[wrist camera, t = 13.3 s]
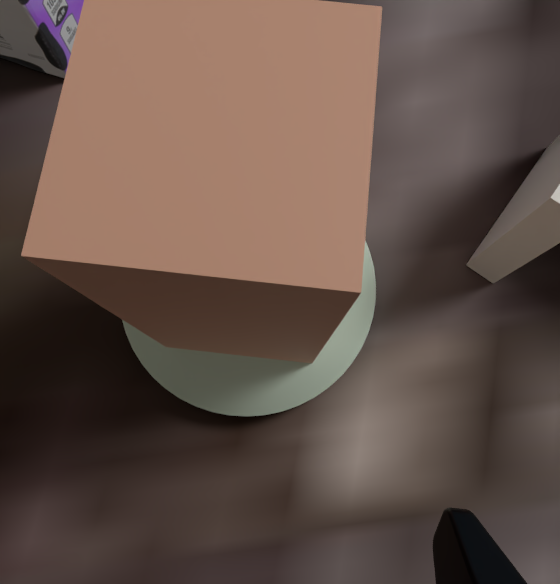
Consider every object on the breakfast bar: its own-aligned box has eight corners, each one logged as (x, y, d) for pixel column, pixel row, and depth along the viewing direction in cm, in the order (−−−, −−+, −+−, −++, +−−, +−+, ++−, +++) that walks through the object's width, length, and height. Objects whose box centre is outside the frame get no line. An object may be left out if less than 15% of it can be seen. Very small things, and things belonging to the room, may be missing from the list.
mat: (391, 396, 18) (398, 395, 17) (136, 433, 17) (128, 434, 16) (348, 166, 20) (351, 153, 19) (119, 195, 19) (111, 183, 18)
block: (312, 363, 17) (360, 292, 7) (165, 347, 17) (21, 255, 7) (325, 225, 18) (382, 6, 8) (188, 210, 18) (89, -23, 9)
